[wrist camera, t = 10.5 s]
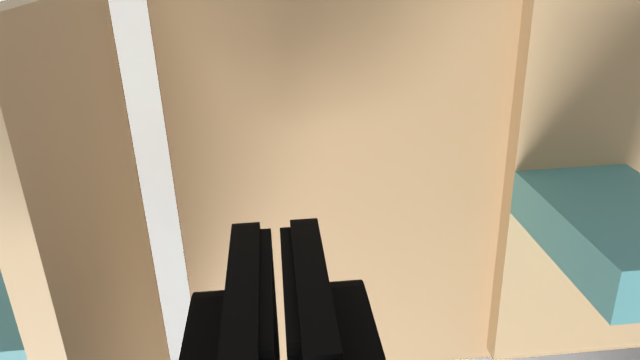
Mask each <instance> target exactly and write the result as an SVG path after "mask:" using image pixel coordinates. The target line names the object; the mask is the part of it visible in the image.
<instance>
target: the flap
mask: <svg viewBox="0 0 640 360" xmlns="http://www.w3.org/2000/svg"><path fill="white" fill-rule="evenodd" d="M0 360H170V355H169V349H168V344H167V338H166V332H165V326H164V321H163V315H162V309H161V303H160V298H159V292H158V286H157V280H156V275H155V269H154V263H153V257H152V252H151V246H150V240H149V234H148V229H147V223H146V217H145V211H144V206H143V200H142V194H141V188H140V183H139V177H138V171H137V165H136V160H135V154H134V148H133V142H132V137H131V131H130V125H129V119H128V113H127V108H126V102H125V96H124V90H123V85H122V79H121V73H120V67H119V62H118V56H117V50H116V44H115V39H114V33H113V27H112V21H111V16H110V10H109V4H108V0H6V1H2V2H0Z"/></svg>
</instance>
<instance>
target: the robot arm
mask: <svg viewBox="0 0 640 360" xmlns="http://www.w3.org/2000/svg"><path fill="white" fill-rule="evenodd" d="M280 242H281V260H282V278H283V296H284V313H285V331H286V349H287V360H386V358H385V354H384V351H383V347H382V344H381V340H380V337H379V333H378V330H377V327H376V323H375V320H374V316H373V313H372V309H371V306H370V302H369V299H368V295H367V292H366V288H365V285H364V282H363V280H361V279H360V280H346V281H333V282H329V277H328V271H327V266H326V261H325V256H324V250H323V245H322V240H321V235H320V229H319V224H318V219H317V218H309V219H294V220H290V227H283V228H280ZM179 360H280V348H279V333H278V319H277V305H276V291H275V277H274V263H273V249H272V236H271V228H268V229H260V222H250V223H236V224H232V226H231V235H230V244H229V253H228V262H227V272H226V281H225V290H215V291H202V292H194V293H193V294H192V297H191V301H190V306H189V312H188V317H187V322H186V327H185V332H184V337H183V342H182V347H181V352H180V357H179Z"/></svg>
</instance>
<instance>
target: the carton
mask: <svg viewBox="0 0 640 360" xmlns="http://www.w3.org/2000/svg"><path fill="white" fill-rule="evenodd" d="M147 6H148V13H149V19H150V26H151V33H152V40H153V46H154V53H155V60H156V67H157V74H158V80H159V87H160V94H161V101H162V107H163V114H164V121H165V128H166V135H167V141H168V148H169V155H170V162H171V168H172V175H173V182H174V189H175V196H176V202H177V209H178V216H179V223H180V229H181V236H182V243H183V250H184V256H185V263H186V270H187V277H188V284H189V290H190V297H192V294H193V293H194V292H202V291H215V290H225V281H226V272H227V262H228V253H229V244H230V235H231V226H232V224H236V223H250V222H260V229H268V228H271V236H272V249H273V263H274V277H275V291H276V305H277V319H278V333H279V348H280V360H287V349H286V331H285V313H284V296H283V278H282V260H281V242H280V228H283V227H290V220H294V219H309V218H317V219H318V224H319V229H320V235H321V240H322V245H323V250H324V256H325V261H326V266H327V271H328V277H329V282H333V281H346V280H360V279H361V280H363V282H364V285H365V288H366V292H367V295H368V299H369V302H370V306H371V309H372V313H373V316H374V320H375V323H376V327H377V330H378V333H379V337H380V340H381V344H382V347H383V351H384V354H385V358H386V360H462V359H473V358H484V357H492V359H493V360H503V359H514V358H525V357H536V356H547V355H558V354H570V353H581V352H592V351H603V350H614V349H625V348H636V347H640V0H147Z"/></svg>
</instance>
